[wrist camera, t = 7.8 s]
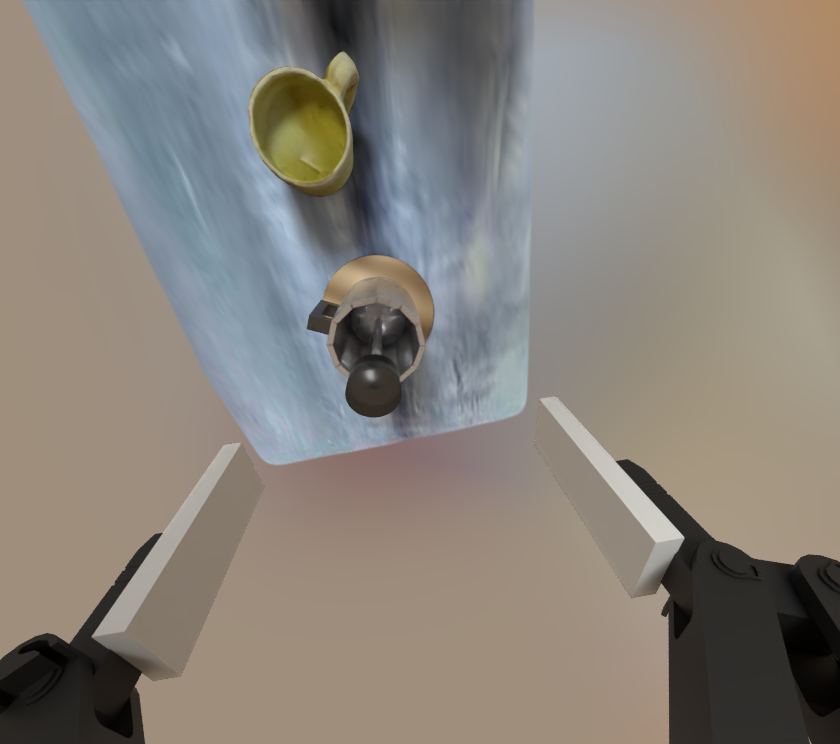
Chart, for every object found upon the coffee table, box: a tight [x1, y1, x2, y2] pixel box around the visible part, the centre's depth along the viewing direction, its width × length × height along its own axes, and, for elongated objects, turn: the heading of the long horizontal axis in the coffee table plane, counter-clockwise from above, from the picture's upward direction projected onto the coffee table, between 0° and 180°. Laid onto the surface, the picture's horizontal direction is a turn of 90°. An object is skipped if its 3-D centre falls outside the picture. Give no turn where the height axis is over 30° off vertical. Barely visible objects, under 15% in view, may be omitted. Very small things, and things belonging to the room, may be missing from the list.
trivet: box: [323, 255, 434, 341], centre depth 44 cm, size 16×16×1 cm
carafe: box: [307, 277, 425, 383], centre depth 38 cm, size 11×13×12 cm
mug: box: [248, 52, 359, 197], centre depth 31 cm, size 12×10×10 cm
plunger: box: [345, 302, 405, 417], centre depth 33 cm, size 7×7×20 cm
